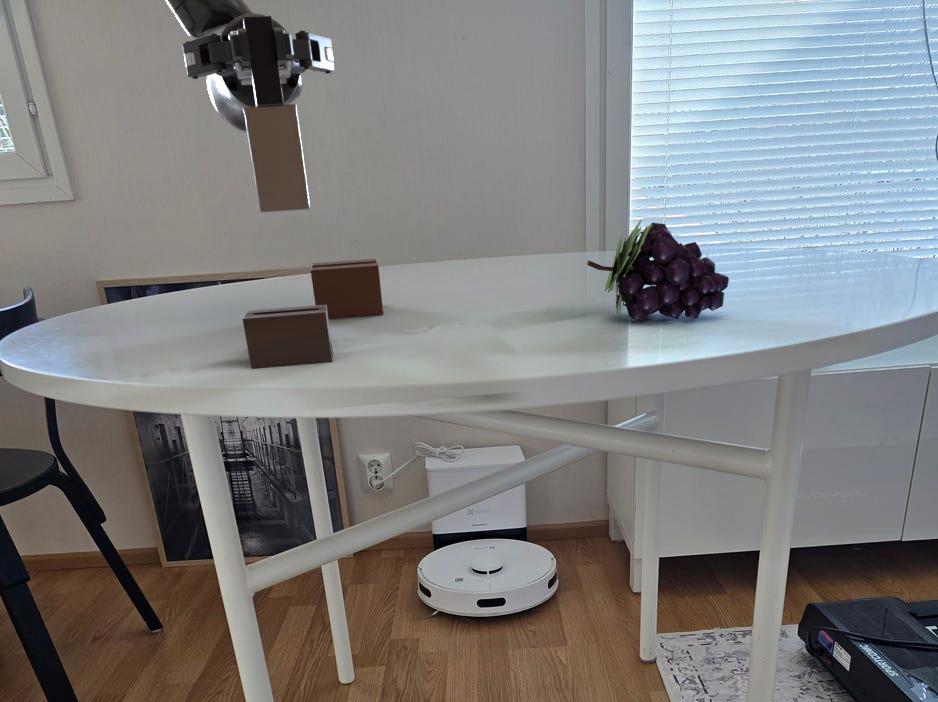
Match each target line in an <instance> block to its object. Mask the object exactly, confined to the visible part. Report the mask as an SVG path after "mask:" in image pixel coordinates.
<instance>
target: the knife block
mask: <svg viewBox="0 0 938 702" xmlns="http://www.w3.org/2000/svg"><path fill="white" fill-rule="evenodd" d="M242 325H243V330H244V336H245V341H246V348H247V352H248V358H249V363H250V368H251V370H259V369H269V368H270V369H271V368H280V367H282V368H283V367H291V366H304V365H305V366H306V365H316V364H317V365H318V364H329V363H333V360H334V359H333V356H334V349H333V343H332V336H331V335H332V334H331V327H330V320H329V319H328V312H327V305H315V304H314V305H303V306H292V307H291V306H290V307H279V308H278V307H277V308H263V309H252V310H251V309H250V310H247V312H246V313H245V315H244V316H243V317H242Z"/></svg>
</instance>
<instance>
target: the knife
mask: <svg viewBox="0 0 938 702" xmlns="http://www.w3.org/2000/svg"><path fill="white" fill-rule="evenodd" d="M272 19H273V18H272V16H271V15H265V16H249V17H244V19H243V24H244V28H246V30H247V37H248V43H249V50H250V56H251V64H250V69H251V76H252V82H253V89H254V95H255V101H256V106H252V107H244V114H245V120H246V126H247V132H246V133H247V138H248V144H249V150H250V156H251V162H252V168H253V174H254V182H255V188H256V193H257V199H258V206H259V211H260V213H261V214H263V213H274V212H275V213H277V212H289V211H291V212H292V211H303V210H311V203H310V196H309V187H308V181H307V174H306V166H305V159H304V152H303V145H302V138H301V136H302V135H301V129H300V121H299V115H298V108H297V104H296V103H293V104H292V103H291V104H288V105H283V103H284V102H283V95H282V88H281V81H280V74H279V67H278V62H277V55H276V48H275V41H274V34H273V25H272Z"/></svg>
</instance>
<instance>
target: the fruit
mask: <svg viewBox="0 0 938 702" xmlns="http://www.w3.org/2000/svg"><path fill="white" fill-rule="evenodd" d="M642 221H643V218H641V219H640V220H639V221H638V223H637V225H635V227H634V229H633V230H631V232H630V234H629V236H628V237H627V236H625V238H624V241H623V237H624V233H625V232H624V231H625V230H626V229H625V228H624V229H623V231H622V234H621V238H620V239H619V240H618V242H617V246H616V250H615V254H614V258H613V261H612V264H611V266H606V265H605V266H603V265H602V264H599V263H596V262H594V261H591V260H589V259H588V260H587V262H586V266H589V267H591V268H593V269H596V270H598V271H605V272H609V273H608V277H607V280H606V282H605V283H606V284H605V289H604V292H606V291H607V292H608V293H610V292H611V291H613V290H614V288H615V312H616V314H617V315H618V314H619V315H621V310H622V309H621V308H622V307H623V306H624V307H625V308H626V312H627V315H628V317H629V318H630V319H633V320H635V321H638V322H640V321H642V320H643V319H644V318H646V317H648V316H651V315H653V314H655V313H657V312H658V313H659V314H660V315H662V316H664V317H670V318H672V319H674V320H678V319H679V318H680V317H681V316H682V314H683V313H684V316H685V317H686V318H690V319H698V317H699V316H700V315H701V313H702V311H705V310H707V309H709V310H710V311H711V312H714V311H716V310H718V309H720V308H723V306H724V301H725V300H724V299H725V292H724V291H725V290H726V289H727V288H728V287H729V282H730V278H729V276H727V275H726V274H723V273H720V272H716V262H714V261H713V260H711V259H710V258H709V257H707V256H705V257H702V256H703V253H702V251H701V248H700V246H699V244H698V243H697V242H696V241H693V242H688V243H685V244H683V243H682V242H680V243H679V242H678V240H676V239H675V238H674V236H673V234H672V232H671V231H670V230H669V229H668V227H667V225H666V223H660V222H651V223H650V224H648V225H646V227H645V228H644V229H643V231H641V230H642V228H643V227H642V226H640V225H641V223H642ZM701 257H702V258H701ZM651 258H652V259H651ZM615 285H616V286H615ZM645 286H646V287H645Z"/></svg>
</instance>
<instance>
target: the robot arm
mask: <svg viewBox="0 0 938 702" xmlns="http://www.w3.org/2000/svg"><path fill="white" fill-rule="evenodd" d="M165 2H166V3H167V5H168V6H169V8H170V10H171V11H172V13H173V14H174V15H175V18H176V19H177V20H178V22H179V23H180V25H181V27H182V28H183V30H184V31H185V32H186V34H187V35H188V36H189V37H190V38H192V40H188V41H185V42H183V43H181V47H182V52H183V56H184V62H185V67H186V73H187V78H190V79H192V80H198V79H199V78H202V77H206V85H207V91H208V94H209V98H210V100H211V104H212V105H213V107H214V109H215V110H216V112H217V114H218V115H219V116H220V118H221V119H222V120H223V121H224V122H225V123H226V124H227V125H228V126H229V127H231V128H232V129H233V130H235V131H237V132H241V133H248V132H247V126H246V120H245V114H244V107H252V106H256V101H255V95H254V89H253V82H252V76H251V69H250V64H251V56H250V50H249V43H248V37H247V30H246V28H244V24H243V19H244V17H249V16H266V15H265V14H263V13H255V12H254V11H253V10H252V8H251V7H250V6H249V5H248V4H247V2H246V1H245V0H165ZM272 25H273V34H274V41H275V48H276V55H277V62H278V67H279V74H280V81H281V88H282V95H283V102H284V103H283V105H288V104H292V103H294V102H295V101H296V100H297V99H299V98H300V96H301V94H302V92H303V88H304V77H303V73H305V72H307V70H308V71H309V70H310V71H312V72H320V73H325V75H326V74H327V75H328V74H332V72H335V71H336V70H335V62H334V53H333V52H334V51H333V44H332V39H331V38H329V37H328V36H323V35H319V34H316V33H312V32H309V31H308V32H307V31H306V30H299V31H298V32H295V34H294V36H295V38H293V37H292V33H290V32H289V31H287V30H286V28H284V27H283V25H282V24H280V23H279V22H278V21H276V20H275V19H273V18H272Z"/></svg>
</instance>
